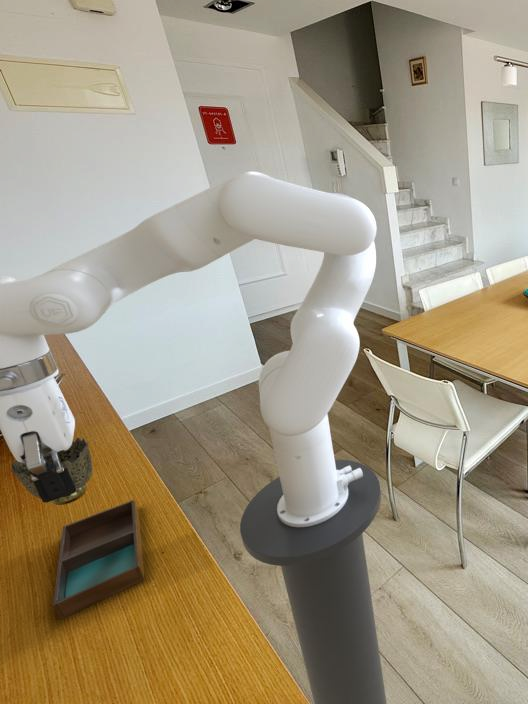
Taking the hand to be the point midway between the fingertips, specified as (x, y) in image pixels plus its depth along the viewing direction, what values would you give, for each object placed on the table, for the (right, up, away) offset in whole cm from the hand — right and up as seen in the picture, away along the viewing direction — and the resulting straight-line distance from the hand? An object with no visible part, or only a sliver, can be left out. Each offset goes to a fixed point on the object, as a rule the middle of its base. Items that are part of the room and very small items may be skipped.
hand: (63, 480), depth 60 cm
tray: (-2, -16, +8) cm, 18 cm away
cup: (0, -3, +1) cm, 3 cm away
